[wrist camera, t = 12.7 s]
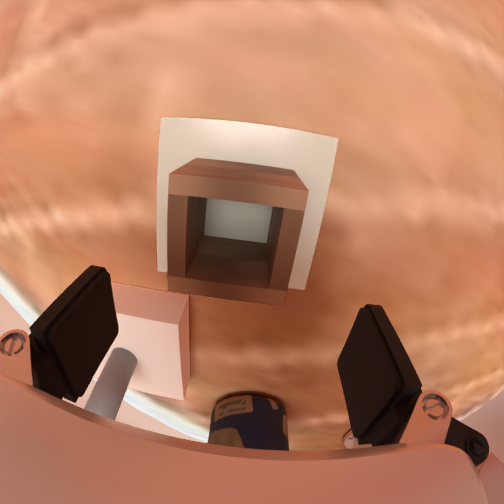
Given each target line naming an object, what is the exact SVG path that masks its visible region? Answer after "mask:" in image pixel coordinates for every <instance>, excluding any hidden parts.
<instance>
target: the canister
mask: <svg viewBox="0 0 504 504" xmlns="http://www.w3.org/2000/svg"><path fill="white" fill-rule="evenodd" d="M208 444H214V445H221V446H229V447H238V448H248V449H260V450H279V451H289V442H288V431H287V416H286V412H285V410H284V408H283V407H282V406H281V405H280V404H279V403H278V402H276V401H274V400H272V399H269V398H266V397H261V396H253V395H241V396H234V397H229V398H226V399H224V400H222V401H220V402H219V403H218V404H217V405H216V406H215V407H214V409H213V412H212V417H211V424H210V432H209V438H208Z"/></svg>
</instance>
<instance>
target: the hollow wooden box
mask: <svg viewBox="0 0 504 504" xmlns="http://www.w3.org/2000/svg"><path fill="white" fill-rule="evenodd" d="M308 193H309V190H308V189H307V188H306V186H305V185H304V183H303V182H302V181H301V179H300V178H299V177H298V175H297V174H296V172H295V171H294V170H291V169H285V168H278V167H271V166H265V165H257V164H250V163H242V162H234V161H225V160H215V159H204V158H195V159H193V160H191V161H190V162H188V163H186V164H184V165H183V166H181V167H179V168H178V169H176V170H174V171H173V172H171V173H169V183H168V210H167V273H168V290H169V291H175V292H181V293H188V294H194V295H201V296H208V297H215V298H223V299H230V300H238V301H246V302H254V303H263V304H272V305H281V306H284V302H285V298H286V294H287V289H288V285H289V281H290V277H291V272H292V268H293V264H294V259H295V255H296V250H297V246H298V241H299V237H300V232H301V228H302V223H303V218H304V213H305V208H306V203H307V198H308ZM207 198H212V199H221V200H229V201H237V202H245V203H253V204H260V205H267V206H273V208H272V214H271V220H270V226H269V232H268V238H267V243H261V242H254V241H246V240H238V239H231V238H223V237H215V236H207V235H204V231H205V217H206V204H207Z"/></svg>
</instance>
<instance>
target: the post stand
mask: <svg viewBox="0 0 504 504" xmlns="http://www.w3.org/2000/svg"><path fill="white" fill-rule="evenodd" d="M111 285H112V292H113V298H114V304H115V310H116V315H117V321H118V326H119V332H118V335H117V337H116V339H115V340H114V342H113V344H112V345H111V347H110V349H109V350H108V352H107V354H106V355H105V357H104V359H103V361H102V362H101V364H100V366H99V368H98V369H97V371H96V373H95V375H94V376H93V378H96V379H98V380H97V382H96V385H95V386H94V389H93V391H92V393H91V395H90V397H89V399H88V401H87V404H86V406H85V408H84V409H85V410H87V411H90V412H92V413H95V414H98V415H100V416H103V417H106V418H109V419H111V420H114V421H115V418H116V415H117V413H118V410H119V407H120V405H121V402H122V400H123V397H124V395H125V392H126V390H127V388H130V389H134V390H138V391H142V392H146V393H150V394H154V395H159V396H163V397H168V398H173V399H178V400H184V398H185V394H186V390H187V385H188V381H189V377H190V345H189V295H186V294H179V293H173V292H167V291H160V290H154V289H148V288H143V287H137V286H131V285H126V284H120V283H115V282H111Z"/></svg>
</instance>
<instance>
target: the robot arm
mask: <svg viewBox="0 0 504 504" xmlns="http://www.w3.org/2000/svg"><path fill="white" fill-rule="evenodd" d="M30 330H31V334H30V335H29V336H28V334H27V333H26V332H24V331H23V330H18V329H17V330H11V331H8V332H6V333H5V334H3V335H2V336H1V337H0V504H504V464H503V463H502V462H501V461H500V460H499V459H498V458H497V457H496V456H495V455H494V454H493V453H490V454H489V445H488V442H487V440H486V438H485V437H484V436H483V435H482V434H481V433H479V432H477V431H476V430H474V429H472V428H470V427H468V426H467V425H465V424H463V423H461V422H460V421H458V420H456V419H454V418H453V417H452V405H451V403H450V401H449V400H448V398H447V397H446V396H445V395H443V394H442V393H440V392H438V391H435V390H428V391H424V392H423V393H422V390H421V387H422V384H421V382H420V379H419V377H418V375H417V373H416V371H415V369H414V367H413V365H412V363H411V361H410V359H409V357H408V355H407V353H406V351H405V349H404V347H403V345H402V343H401V341H400V339H399V337H398V335H397V333H396V331H395V330H394V328H393V326H392V324H391V322H390V320H389V318H388V317H387V315H386V313H385V311H384V309H383V308H382V306H380V305H371V304H367V305H365V306H364V308H361V309H360V310H359V312H358V315H357V317H356V320H355V322H354V324H353V327H352V329H351V331H350V334H349V336H348V338H347V341H346V343H345V345H344V347H343V350H342V352H341V354H340V356H339V358H338V363H337V366H338V371H339V375H340V379H341V383H342V388H343V392H344V396H345V401H346V405H347V410H348V415H349V419H350V424H351V429H352V430H350V431H349V432H348V433H347V434H346V435H345V437H344V439H343V442H344V446H345V447H346V448H348V449H341V450H322V451H279V450H260V449H248V448H238V447H229V446H221V445H214V444H208V443H202V442H196V441H190V440H186V439H180V438H176V437H172V436H167V435H163V434H159V433H155V432H151V431H147V430H144V429H140V428H137V427H133V426H130V425H127V424H124V423H120V422H117V421H114V420H111V419H109V418H106V417H103V416H100V415H98V414H95V413H92V412H90V411H87V410H85V409H82V408H80V407H77V406H75V405H73V404H70V403H68V402H66V401H63V400H62V398H63V397H64V398H66V399H68V400H70V401H72V402H76V401H77V399H78V397H81V396H83V394H84V393H85V391H86V389H87V387H88V385H89V384H90V382H91V380H92V378H93V376H94V375H95V373H96V371H97V369H98V368H99V366H100V364H101V362H102V361H103V359H104V357H105V355H106V354H107V352H108V350H109V349H110V347H111V345H112V344H113V342H114V340H115V339H116V337H117V335H118V332H119V326H118V321H117V315H116V310H115V304H114V298H113V292H112V285H111V278H110V274H109V273H108V272H107V270H106V269H105V268H104V267H99V266H94V265H91V266H90V267H88V268H87V269H86V270H85V271H84V272H83V273H82V274H81V275H80V276H79V277H78V278H77V279H76V280H75V281H74V282H73V283H72V284H71V285H70V286H69V287H68V288H67V289H66V290H65V291H64V292H63V293H62V294H61V295H60V296H59V297H58V298H57V299H56V300H55V301H54V302H53V303H52V304H51V305H50V306H49V307H48V308H47V309H46V310H45V311H44V312H43V313H42V315H41V316H40V317H39V318H38V319H37V320H36V321H35V322H34V323H33V324H32V326H31V327H30Z"/></svg>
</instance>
